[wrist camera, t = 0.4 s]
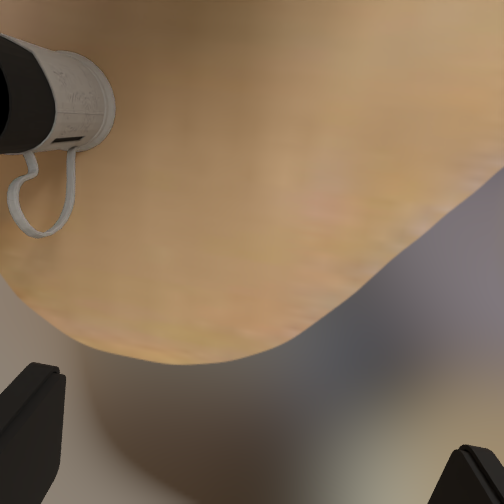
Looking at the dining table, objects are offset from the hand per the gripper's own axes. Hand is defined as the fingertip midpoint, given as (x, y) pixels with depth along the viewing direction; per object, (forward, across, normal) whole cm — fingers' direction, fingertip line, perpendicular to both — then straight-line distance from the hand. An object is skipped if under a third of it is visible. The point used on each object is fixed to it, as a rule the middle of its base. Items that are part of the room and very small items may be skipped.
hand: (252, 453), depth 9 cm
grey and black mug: (+31, +18, -3) cm, 36 cm away
